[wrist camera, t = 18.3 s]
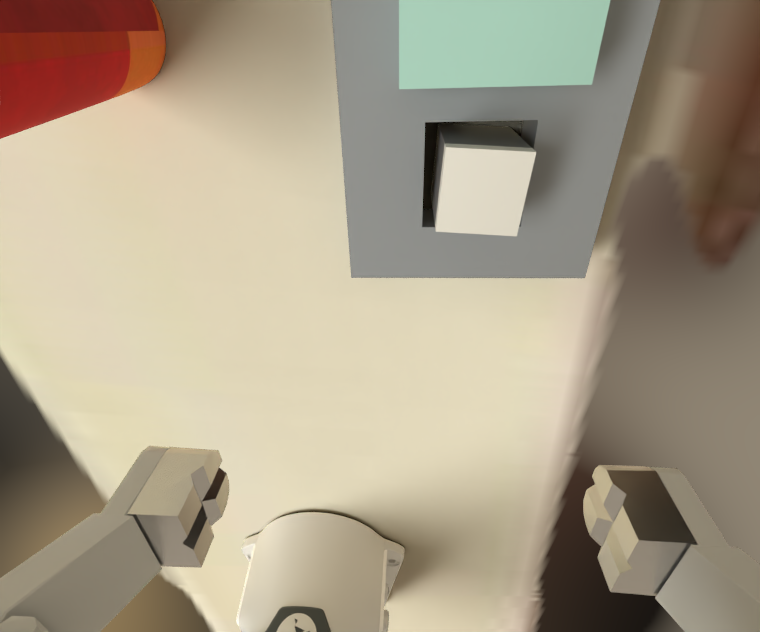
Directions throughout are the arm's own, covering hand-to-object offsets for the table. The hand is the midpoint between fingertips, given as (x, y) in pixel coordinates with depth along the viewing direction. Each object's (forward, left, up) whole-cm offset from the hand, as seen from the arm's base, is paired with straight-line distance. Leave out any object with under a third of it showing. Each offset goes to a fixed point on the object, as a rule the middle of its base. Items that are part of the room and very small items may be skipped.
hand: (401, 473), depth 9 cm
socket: (+3, -4, -20) cm, 21 cm away
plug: (+2, -4, -20) cm, 21 cm away
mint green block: (+9, -4, -17) cm, 20 cm away
